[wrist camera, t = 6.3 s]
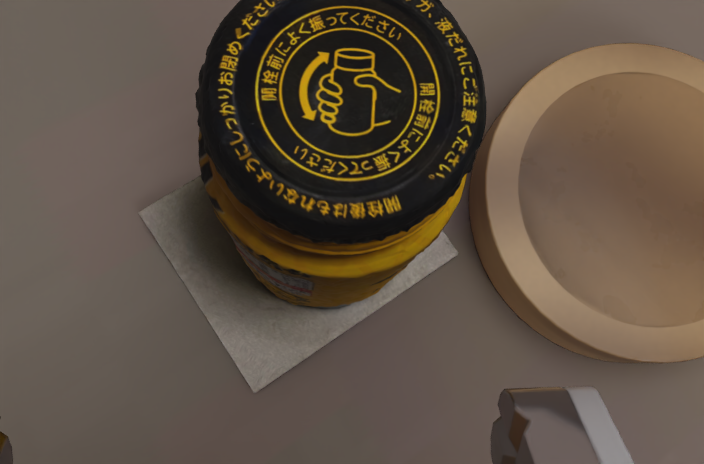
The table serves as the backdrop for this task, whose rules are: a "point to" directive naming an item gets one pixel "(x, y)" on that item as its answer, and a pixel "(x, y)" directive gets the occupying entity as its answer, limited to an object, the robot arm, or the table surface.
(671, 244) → the coaster
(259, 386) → the condiment
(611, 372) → the table surface
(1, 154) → the table surface
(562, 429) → the robot arm
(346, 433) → the table surface
